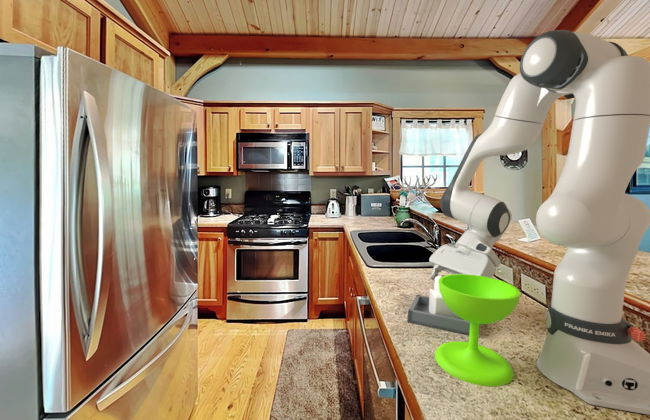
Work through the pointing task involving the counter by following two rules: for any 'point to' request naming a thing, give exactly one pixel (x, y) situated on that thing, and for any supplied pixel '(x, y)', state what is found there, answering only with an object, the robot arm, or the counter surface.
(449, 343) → the wineglass
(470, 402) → the counter surface
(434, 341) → the counter surface
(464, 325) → the parts tray
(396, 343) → the counter surface
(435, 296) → the medicine bottle
